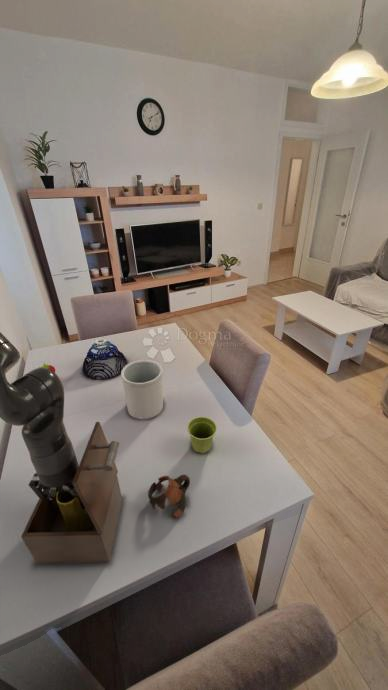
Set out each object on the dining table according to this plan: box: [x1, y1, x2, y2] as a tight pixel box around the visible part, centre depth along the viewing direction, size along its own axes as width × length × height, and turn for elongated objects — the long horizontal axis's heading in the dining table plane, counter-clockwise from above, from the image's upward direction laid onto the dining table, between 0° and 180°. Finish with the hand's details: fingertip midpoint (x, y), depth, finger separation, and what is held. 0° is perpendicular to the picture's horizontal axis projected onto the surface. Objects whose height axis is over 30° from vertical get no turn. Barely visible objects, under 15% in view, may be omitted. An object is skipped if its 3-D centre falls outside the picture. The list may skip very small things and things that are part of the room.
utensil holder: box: [120, 359, 164, 420], centre depth 104 cm, size 15×15×18 cm
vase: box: [56, 491, 93, 532], centre depth 66 cm, size 6×6×14 cm
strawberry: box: [38, 361, 56, 374], centre depth 120 cm, size 6×8×10 cm
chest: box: [20, 475, 123, 564], centre depth 67 cm, size 17×15×12 cm
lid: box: [72, 421, 120, 534], centre depth 59 cm, size 18×15×6 cm
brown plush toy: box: [147, 474, 191, 519], centre depth 75 cm, size 12×10×8 cm
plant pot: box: [186, 416, 218, 454], centre depth 90 cm, size 9×9×9 cm
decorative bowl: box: [82, 338, 128, 381], centre depth 128 cm, size 20×20×14 cm
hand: (72, 504), depth 65 cm, fingers closed on vase, 5 cm apart
